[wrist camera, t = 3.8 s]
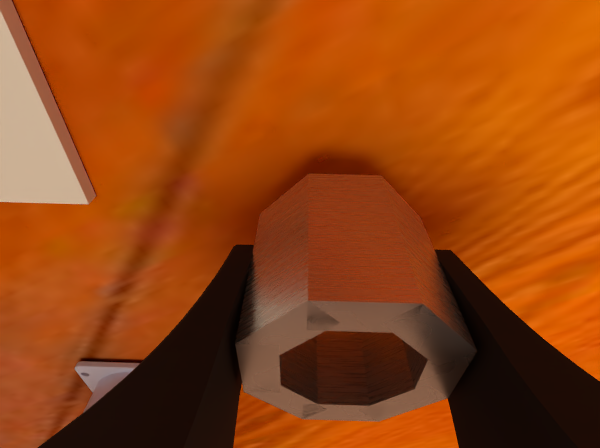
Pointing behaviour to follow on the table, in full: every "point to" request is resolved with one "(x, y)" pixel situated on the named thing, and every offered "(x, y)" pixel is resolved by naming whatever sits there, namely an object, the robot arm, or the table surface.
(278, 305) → the collar
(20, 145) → the post stand
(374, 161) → the table surface
